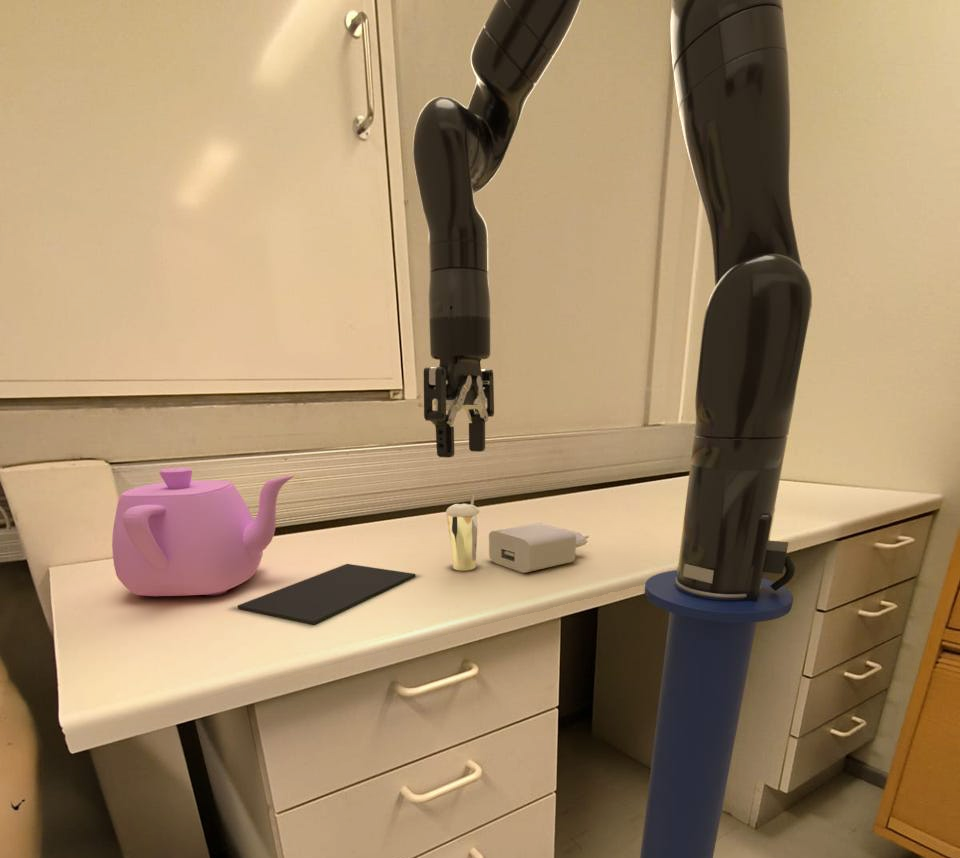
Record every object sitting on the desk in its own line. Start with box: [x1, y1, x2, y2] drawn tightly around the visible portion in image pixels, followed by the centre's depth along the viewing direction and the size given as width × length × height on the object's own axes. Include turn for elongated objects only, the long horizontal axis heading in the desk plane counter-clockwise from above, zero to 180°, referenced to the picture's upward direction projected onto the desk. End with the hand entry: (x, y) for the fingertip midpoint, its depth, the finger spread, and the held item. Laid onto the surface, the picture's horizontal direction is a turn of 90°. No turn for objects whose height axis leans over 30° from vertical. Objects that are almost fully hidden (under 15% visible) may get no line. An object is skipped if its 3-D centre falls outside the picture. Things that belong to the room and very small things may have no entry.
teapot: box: [111, 467, 295, 597], centre depth 74 cm, size 23×21×15 cm
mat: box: [237, 563, 416, 626], centre depth 75 cm, size 12×20×1 cm, turn 152°
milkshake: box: [445, 493, 480, 572], centre depth 82 cm, size 5×5×10 cm
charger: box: [488, 522, 590, 574], centre depth 87 cm, size 5×9×15 cm
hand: (462, 454), depth 78 cm, fingers open, 8 cm apart
